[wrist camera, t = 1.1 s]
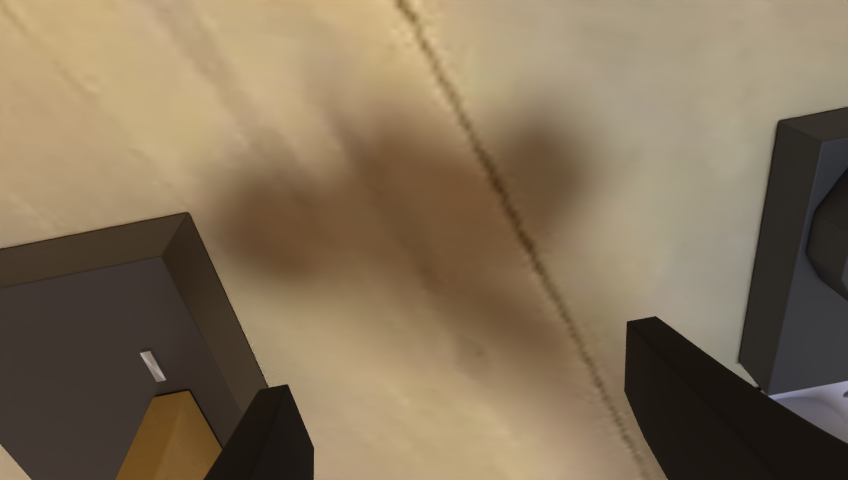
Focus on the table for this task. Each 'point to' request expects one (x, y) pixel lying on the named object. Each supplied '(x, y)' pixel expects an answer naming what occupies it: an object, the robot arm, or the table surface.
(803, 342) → the button base
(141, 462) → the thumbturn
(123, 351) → the plate
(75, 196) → the table surface
